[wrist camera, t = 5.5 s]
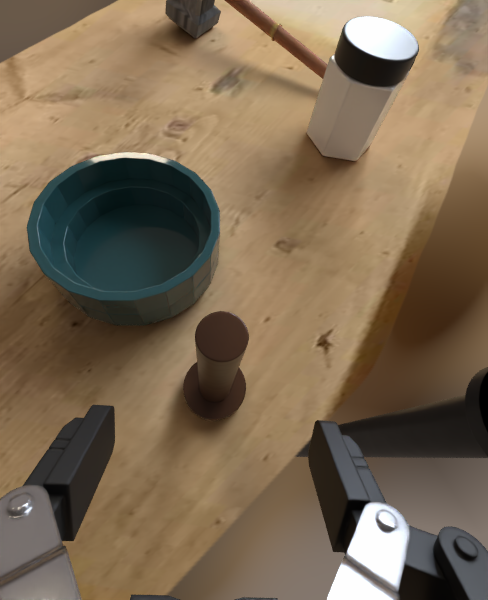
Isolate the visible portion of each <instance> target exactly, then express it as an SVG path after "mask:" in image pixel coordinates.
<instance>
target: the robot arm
mask: <svg viewBox="0 0 488 600" xmlns="http://www.w3.org/2000/svg"><path fill="white" fill-rule="evenodd" d="M114 443H115V414H114V407H113V406H106V405H92V406H91V408H90V409H89V411H88V412H87V414H86V416H85V417H84V418H74V419H73V420H72V421H70V422H69V423H68V424H66V425H65V426H64V427H63V428H62V430H61V431H60V432H59V434H58V435H57V437H56V439H55V440H54V441H53V443H52V444H51V445H50V447H49V450H47V451H46V453H45V454H44V456H43V457H42V459H41V460H40V461H39V463H38V464H37V466H36V467H35V469H34V470H33V472H32V473H31V475H30V476H29V477H28V479H27V480H26V482H25V483H24V485H23V486H22V487H19V488H16V489H14V490H12V491H10V492H9V493H7V494H6V495H4V496H3V497H2V498H1V499H0V600H82V599H81V596H80V592H79V589H78V585H77V582H76V579H75V575H74V572H73V568H72V565H71V562H70V558H69V555H68V552H67V549H66V547H65V546H63V544H62V541H74V539H75V537H76V534H77V532H78V530H79V528H80V525H81V523H82V521H83V518H84V516H85V514H86V512H87V509H88V507H89V505H90V503H91V500H92V498H93V496H94V493H95V491H96V489H97V487H98V484H99V482H100V480H101V477H102V475H103V473H104V471H105V468H106V466H107V464H108V462H109V459H110V457H111V455H112V452H113V448H114ZM308 458H309V467H310V471H311V474H312V478H313V481H314V485H315V488H316V492H317V496H318V499H319V503H320V506H321V510H322V514H323V517H324V521H325V524H326V528H327V531H328V535H329V539H330V542H331V545H332V549H333V552H344V553H345V556H344V558H343V561H342V563H341V565H340V568H339V571H338V573H337V576H336V579H335V581H334V583H333V586H332V588H331V591H330V593H329V596H328V599H327V600H488V551H487V550H486V548H485V547H484V546H483V545H482V544H481V543H480V542H479V541H478V540H477V539H476V538H474V537H473V536H472V535H470V534H469V533H467V532H466V531H464V530H461V529H459V528H456V527H444V528H442V529H441V530H440V532H439V535H438V536H437V535H434V534H430V533H428V532H425V531H422V530H419V529H417V528H414V527H412V526H409V525H408V523H407V521H406V520H405V518H404V517H403V516H402V515H401V514H400V513H399V512H398V511H397V510H396V509H395V508H393V507H392V506H390V505H388V504H387V503H386V501H385V499H384V497H383V495H382V493H381V491H380V489H379V487H378V485H377V483H376V481H375V479H374V477H373V475H372V473H371V471H370V469H369V468H368V464H367V462H366V460H365V459H364V456H363V454H362V452H361V450H360V448H359V446H358V445H357V444H356V443H355V442H354V441H353V440H352V439H351V438H350V437H349V436H344V435H342V434H341V432H340V430H339V427H338V425H337V423H336V422H334V421H320V420H317V421H316V422H315V425H314V429H313V434H312V438H311V443H310V447H309V454H308ZM130 600H179V599H176V598H174V597H171V596H166V595H131V598H130ZM236 600H278V599H277V598H240V599H236Z"/></svg>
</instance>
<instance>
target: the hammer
mask: <svg viewBox="0 0 488 600" xmlns="http://www.w3.org/2000/svg"><path fill="white" fill-rule="evenodd" d="M225 1H226V2H227V3H229V4H230V5H231V6H232V7H234V8H235V9H236V10H237V11H239V12H240V13H241V14H242V15H244V16H245V17H246V18H247V19H249V20H250V21H251V22H252V23H254V24H255V25H256V26H257V27H259V28H260V29H261V30H262V31H264V32H265V33H266V34H267V35H269V36H270V37H271V38H272V41H276V42H277V43H279V44H280V45H281V46H282V47H284V48H285V49H286V50H287V51H289V52H290V53H291V54H292V55H294V56H295V57H296V58H297V59H299V60H300V61H301V62H302V63H304V64H305V65H306V66H307V67H309V68H310V69H311V70H312V71H314V72H315V73H316V74H317V75H319V76H320V77H321V78H322V79H323V78H324V75H325V71H326V68H327V64H326V63H325V62H324V61H322V60H321V59H320V58H319V57H318V56H316V55H315V54H314V53H313V52H311V51H310V50H309V49H308V48H307V47H305V46H304V45H303V44H302V43H300V42H299V41H298V40H297V39H296V38H294V37H293V36H292V35H291V34H289V33H288V32H287V31H286V30H284V29H283V28H282V25H281V24H279V25H278V24H277V23H276V22H275V21H273V20H272V19H271V18H270V17H269V16H267V15H266V14H265V13H264V12H262V11H261V10H260V9H259V8H257V7H256V6H255V5H254V4H253V3H251V2H250V1H249V0H225ZM214 2H215V0H167V1H166V15H167V16H168V17H169V18H170V19H171V20H172V21H173V22H175V23H176V24H177V25H178V26H180V27H181V28H182V29H184V30H185V31H186V32H187V33H189V34H190V35H191V36H192V37H194V38H195V39H196V38H197V37H199V36H200V35H201V34H203V33H204V32H206V31H207V30H209V29H210V28H211V27H213V26H214V25H216V24H217V23H218V20H219V16H220V13H221V11H220V10H219V9H218V8H217V7H216V6H214Z"/></svg>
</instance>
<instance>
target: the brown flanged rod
mask: <svg viewBox="0 0 488 600" xmlns="http://www.w3.org/2000/svg"><path fill="white" fill-rule="evenodd" d="M248 340H249V334H248V330H247V327H246V325H245V323H244V322H243V321H242V320H241V319H240V318H239V317H238V316H236V315H234V314H232V313H229V312H224V311H220V312H214V313H211V314H209V315H207V316H206V317H204V318H203V319H202V320H201V321H200V323H199V324H198V326H197V329H196V333H195V342H196V354H197V362H196V363H195V364H194V365H193V366H192V367H191V368H190V369H189V371H188V372H187V375H186V377H185V380H184V386H183V390H184V397H185V400H186V402H187V404H188V406H189V408H190V409H191V410H192V412H193V413H195V414H196V415H197V416H199V417H200V418H203V419H206V420H211V421H217V420H222V419H225V418H227V417H229V416H231V415H232V414H233V413H234V412H235V411H236V410H237V409H238V408H239V406H240V405H241V403H242V401H243V399H244V396H245V392H246V383H245V378H244V375H243V373H242V371H241V370H240V368H239V366H240V363H241V360H242V358H243V355H244V353H245V350H246V347H247V345H248Z"/></svg>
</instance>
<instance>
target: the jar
mask: <svg viewBox="0 0 488 600" xmlns="http://www.w3.org/2000/svg"><path fill="white" fill-rule="evenodd" d="M418 51H419V45H418V42H417V40H416V39H415V37H414V36H413V35H412V34H411V33H410V32H409V31H408V30H406V29H405V28H404V27H402V26H400V25H398V24H396V23H394V22H392V21H389V20H386V19H382V18H377V17H358V18H354V19H352V20H350V21H348V22H347V23H346V24H345V25H344V27H343V29H342V33H341V36H340V39H339V42H338V45H337V48H336V51H335V54H334V55H333V56H332V57H330V59H329V62H328V65H327V68H326V71H325V75H324V78H323V81H322V84H321V87H320V91H319V94H318V97H317V100H316V103H315V107H314V110H313V113H312V116H311V119H310V122H309V126H308V129H307V134H308V136H309V137H310V138H311V140H312V141H313V143H314V144H315V146H316V147H317V148H318V150H319V151H320V153H321V154H322V155H323V156H327V157H333V158H339V159H345V160H351V161H357V160H358V159H359V158H360V156H361V155H362V154H363V153H364V152H365V151H366V149H367V148H368V147H369V146H370V145H371V143H372V141H373V140H374V138H375V136H376V134H377V132H378V130H379V128H380V126H381V125H382V123H383V121H384V119H385V117H386V115H387V113H388V111H389V110H390V108H391V106H392V104H393V102H394V100H395V98H396V96H397V95H398V93H399V91H400V89H401V87H402V85H403V83H404V81H405V80H406V78H407V76H408V74H409V72H408V71H410V69H411V67H412V65H413V63H414V61H415V58H416V56H417V54H418Z"/></svg>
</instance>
